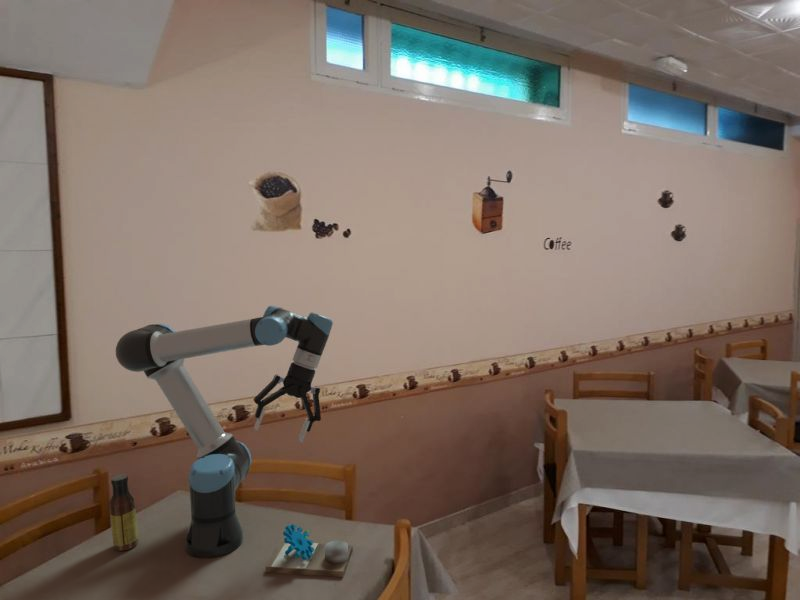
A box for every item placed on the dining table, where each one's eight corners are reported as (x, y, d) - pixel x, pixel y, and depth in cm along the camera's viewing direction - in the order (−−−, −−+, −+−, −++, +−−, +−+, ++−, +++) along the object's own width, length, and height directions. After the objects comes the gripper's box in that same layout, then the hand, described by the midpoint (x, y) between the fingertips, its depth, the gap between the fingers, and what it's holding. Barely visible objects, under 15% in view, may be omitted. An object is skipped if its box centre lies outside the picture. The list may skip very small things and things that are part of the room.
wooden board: (265, 572, 141) (265, 555, 141) (280, 546, 153) (280, 531, 153) (343, 577, 139) (342, 559, 139) (352, 551, 151) (352, 535, 150)
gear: (305, 562, 139) (280, 530, 141) (289, 577, 140) (265, 544, 142) (322, 545, 150) (299, 516, 152) (308, 559, 151) (285, 529, 153)
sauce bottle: (139, 538, 158) (136, 470, 156) (136, 550, 152) (132, 479, 150) (114, 542, 156) (110, 473, 154) (110, 554, 150) (105, 483, 148)
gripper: (265, 354, 154) (237, 427, 152) (346, 380, 164) (321, 449, 162) (261, 350, 161) (234, 420, 159) (339, 375, 171) (314, 442, 169)
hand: (278, 435), depth 161 cm, fingers open, 13 cm apart
